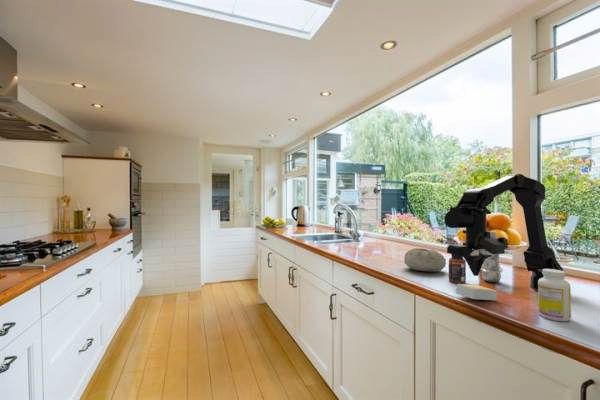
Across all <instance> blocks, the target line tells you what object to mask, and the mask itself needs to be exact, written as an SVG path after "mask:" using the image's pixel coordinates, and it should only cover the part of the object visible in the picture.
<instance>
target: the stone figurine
mask: <svg viewBox="0 0 600 400" xmlns="http://www.w3.org/2000/svg"><path fill="white" fill-rule="evenodd" d="M488 232H490V236H491V237H492V238H496V239H498V238H497V237H498V232H497V231H491V230H490V231H488ZM487 252H488V251H487ZM488 255H492V256H491V257H489V258H487V259H486V260H485V261H484V263H483V265H482V268H481V278H482V279H483V280H484V281H486V282H489V283H499V282H500V281H501V279H502V273H501V269H500V255H501V254H491V253H489V252H488Z"/></svg>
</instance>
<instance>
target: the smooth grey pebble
mask: <svg viewBox="0 0 600 400" xmlns="http://www.w3.org/2000/svg"><path fill="white" fill-rule="evenodd" d="M403 261H404V264H405V266H407V267H408V268H410V269H411V270H414V271H417V272H418V271H419V272H439V271H442V270H444V268H446V264H447V262H446V258H445V256H444V255H443V254H442V253H440V252H438V251H436V250H433V249H432V250H431V249H427V248H421V247H415V248H414V247H413V248H411V249H409V250H408V251H407V252H406V253H404V259H403Z"/></svg>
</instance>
